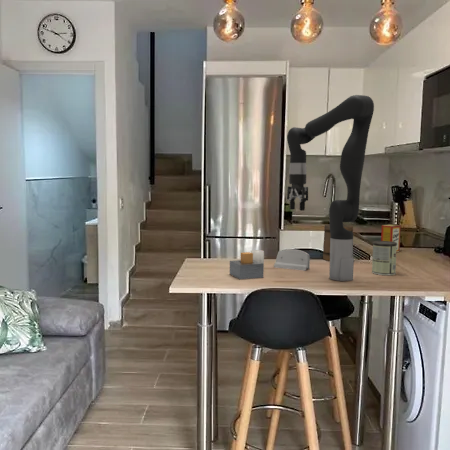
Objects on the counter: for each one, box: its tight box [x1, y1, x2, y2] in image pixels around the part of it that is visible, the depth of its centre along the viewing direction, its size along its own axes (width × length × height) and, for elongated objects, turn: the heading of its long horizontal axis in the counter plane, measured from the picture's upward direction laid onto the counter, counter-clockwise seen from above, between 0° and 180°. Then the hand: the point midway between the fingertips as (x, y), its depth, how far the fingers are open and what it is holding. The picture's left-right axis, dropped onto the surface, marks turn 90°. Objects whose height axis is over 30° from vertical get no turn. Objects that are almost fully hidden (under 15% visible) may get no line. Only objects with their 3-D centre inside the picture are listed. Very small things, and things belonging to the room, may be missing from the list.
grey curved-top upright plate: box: [273, 248, 311, 272], centre depth 225 cm, size 17×5×10 cm, turn 60°
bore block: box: [229, 259, 265, 280], centre depth 205 cm, size 11×11×6 cm
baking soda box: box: [380, 224, 401, 252], centre depth 278 cm, size 10×6×16 cm
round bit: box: [250, 249, 265, 265], centre depth 218 cm, size 6×6×9 cm
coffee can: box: [371, 240, 397, 276], centre depth 213 cm, size 10×10×14 cm
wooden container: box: [322, 223, 354, 262], centre depth 249 cm, size 15×15×22 cm
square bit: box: [240, 251, 253, 264], centre depth 204 cm, size 4×4×10 cm
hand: (297, 209), depth 213 cm, fingers open, 8 cm apart
